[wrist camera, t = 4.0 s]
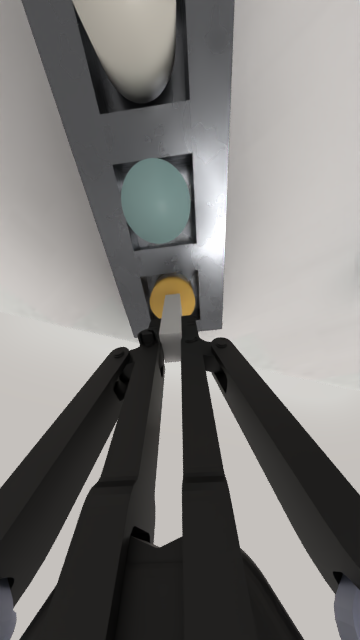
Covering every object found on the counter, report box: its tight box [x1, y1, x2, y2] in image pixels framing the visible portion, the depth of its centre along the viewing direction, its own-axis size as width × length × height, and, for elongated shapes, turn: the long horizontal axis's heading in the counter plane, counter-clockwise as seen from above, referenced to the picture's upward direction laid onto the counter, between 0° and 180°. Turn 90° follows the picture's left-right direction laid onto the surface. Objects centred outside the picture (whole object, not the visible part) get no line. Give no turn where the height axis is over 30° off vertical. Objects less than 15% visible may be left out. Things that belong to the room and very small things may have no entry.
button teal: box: [121, 158, 190, 244], centre depth 13 cm, size 5×5×4 cm
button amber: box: [150, 273, 195, 319], centre depth 19 cm, size 5×5×4 cm
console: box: [22, 0, 234, 338], centre depth 16 cm, size 28×12×4 cm, turn 6°
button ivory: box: [72, 0, 176, 103], centre depth 9 cm, size 5×5×4 cm
